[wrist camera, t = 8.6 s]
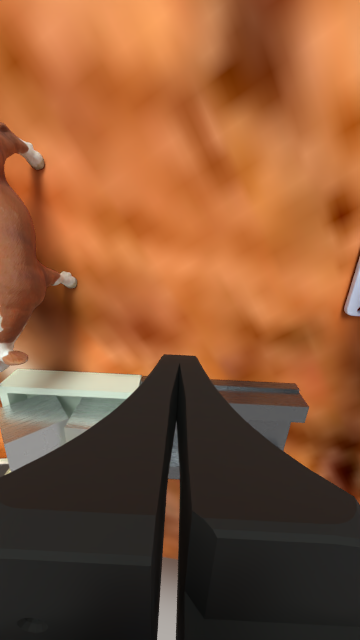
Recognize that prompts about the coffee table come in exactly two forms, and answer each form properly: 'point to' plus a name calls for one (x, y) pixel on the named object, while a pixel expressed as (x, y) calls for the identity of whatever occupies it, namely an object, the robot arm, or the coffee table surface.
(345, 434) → the coffee table surface
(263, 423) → the slot board
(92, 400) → the grey cube
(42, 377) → the tray
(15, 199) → the bull figurine
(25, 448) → the chip
